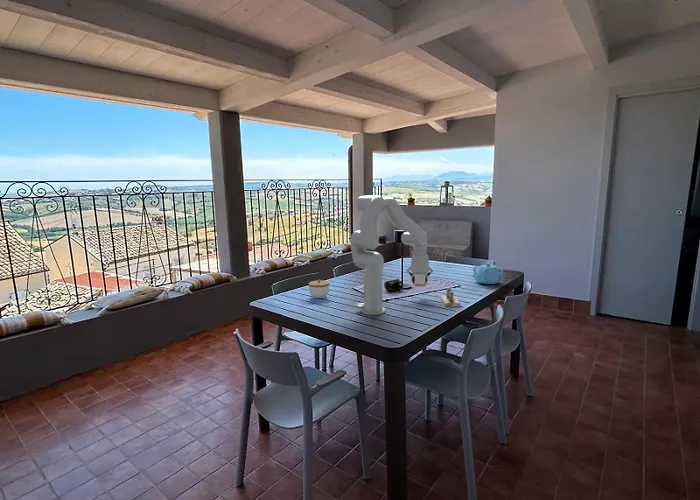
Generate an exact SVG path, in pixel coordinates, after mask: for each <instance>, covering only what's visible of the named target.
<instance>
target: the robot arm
mask: <svg viewBox="0 0 700 500" xmlns="http://www.w3.org/2000/svg"><path fill="white" fill-rule="evenodd" d="M355 208H356V210H357V211H358V212H360V213H361V215H360V218H359V230H354V231H353V232H352V234H351V236H350V250H351V257H352V262H353V264H354V265H355V266H356V267H358V268H360V269H364V270H365V272H364V276H363V302H362V303H355V308H357V309H361V313H362V314H365V315H367V316H378V315H382V314H384V313H386V308H385V307H383V269H384V264H385V259H384V256H383V255H382V254H381V253H380V252H377V251H372V250H375V249H377V247H378V246H379V236H378V235H379V234H378V227H377V222H378V221H377V220H378V217H379V215H380V214H385V215H386V217H387V219H388V220H389V221H390V223H391V224H392V226H393V227H395V228H397V229H399V230H402V231H404V232H403V233H402V235H400V236H401V237H400V240H401V243H402V244H404V245H407V246H413V250H410V253H411V254H412V256H411V261H410V266H408V268H407V269H406V272H407V273H408V274H409V275H410V276H411V283H412V284H413V285H414V282H415V277H414V275H415V273H425V274H426V276H425V285H427V283H428V277H429V276H430V275H432V273H434V270H433V269H432V268H431V267H430V260H429V255H428V232H426V231H424V230H423V229H422V227H421V226H420V225H419V224H418V223H417V222H415V221H414V220H413V219H412V218H410V217H408V216H407V215H406V213H405V212H404V211H403V209H402V208H401V205H400V204H399V203H398V201H397V200H396V198H395V197H392V196H381V195H377V194H376V195H361V196H359V197H357V199H356V201H355ZM370 250H371V251H370Z"/></svg>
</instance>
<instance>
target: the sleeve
mask: <svg viewBox="0 0 700 500" xmlns="http://www.w3.org/2000/svg"><path fill="white" fill-rule="evenodd" d="M425 276H426V274H425V273H415V275H414V277H415V282H414V284H413V286H414V287H426V284H425Z"/></svg>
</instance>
